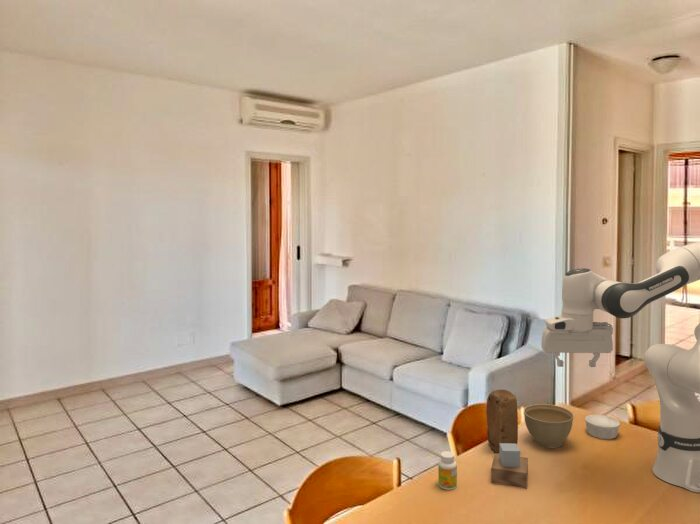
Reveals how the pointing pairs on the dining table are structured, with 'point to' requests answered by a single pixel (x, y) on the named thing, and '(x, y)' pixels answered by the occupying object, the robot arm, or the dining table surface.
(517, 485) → the walnut block
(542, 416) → the planter bowl
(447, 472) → the supplement bottle
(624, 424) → the dining table surface
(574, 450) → the dining table surface
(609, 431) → the ramekin
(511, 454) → the slate cube
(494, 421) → the brown rounded block
